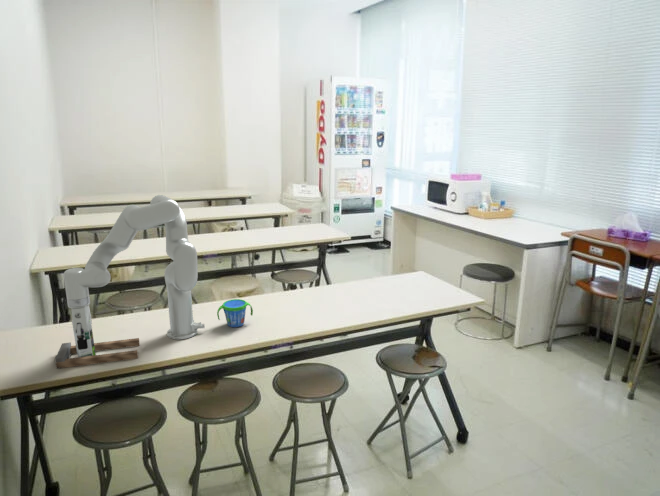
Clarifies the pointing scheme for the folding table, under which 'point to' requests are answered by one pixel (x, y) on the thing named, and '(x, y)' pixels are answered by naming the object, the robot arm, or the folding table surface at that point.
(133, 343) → the guide channel
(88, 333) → the syrup box
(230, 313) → the snack cup
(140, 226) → the robot arm
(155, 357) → the folding table surface
